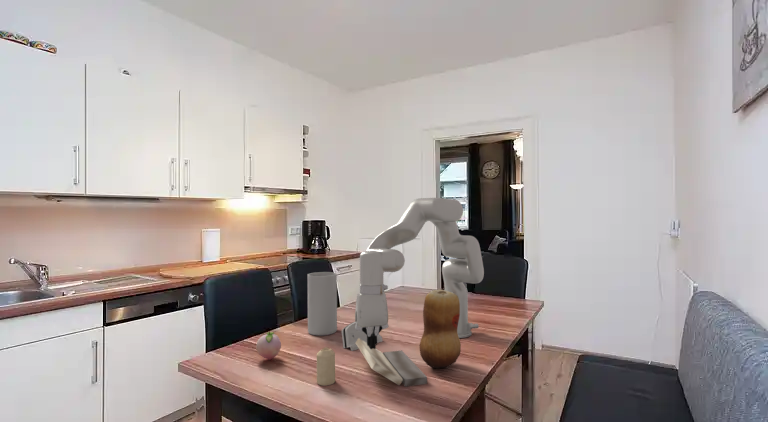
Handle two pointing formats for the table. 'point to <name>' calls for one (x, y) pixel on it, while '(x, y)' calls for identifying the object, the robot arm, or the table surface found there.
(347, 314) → the table surface
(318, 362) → the candle
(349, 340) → the grey flat curved part
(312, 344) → the table surface
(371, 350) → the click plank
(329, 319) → the cylinder vase
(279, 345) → the decorative fruit
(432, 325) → the butternut squash
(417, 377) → the floor board
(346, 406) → the table surface
